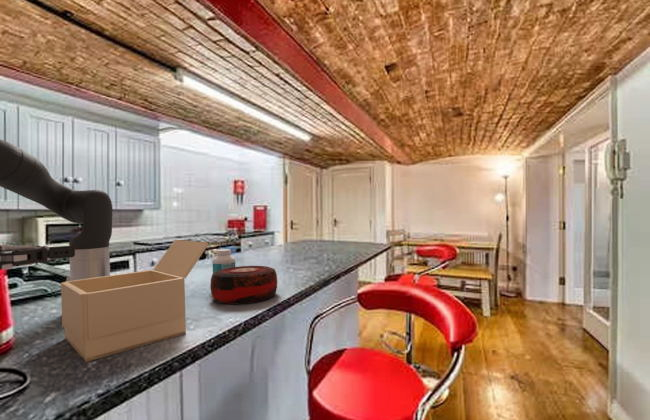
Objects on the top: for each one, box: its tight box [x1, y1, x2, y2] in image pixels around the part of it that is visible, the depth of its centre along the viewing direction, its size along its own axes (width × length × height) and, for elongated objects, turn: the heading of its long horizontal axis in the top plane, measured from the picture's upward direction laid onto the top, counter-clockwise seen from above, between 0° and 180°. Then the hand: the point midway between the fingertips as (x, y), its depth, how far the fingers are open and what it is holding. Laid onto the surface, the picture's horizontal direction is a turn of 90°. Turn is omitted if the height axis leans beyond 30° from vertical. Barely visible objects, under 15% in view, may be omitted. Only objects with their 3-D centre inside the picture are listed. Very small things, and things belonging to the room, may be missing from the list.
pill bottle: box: [212, 248, 236, 274], centre depth 116 cm, size 8×7×14 cm
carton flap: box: [153, 239, 209, 280], centre depth 82 cm, size 9×17×1 cm
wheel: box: [210, 265, 278, 305], centre depth 106 cm, size 20×8×20 cm
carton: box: [60, 269, 187, 363], centre depth 74 cm, size 18×19×12 cm
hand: (73, 251), depth 67 cm, fingers closed
